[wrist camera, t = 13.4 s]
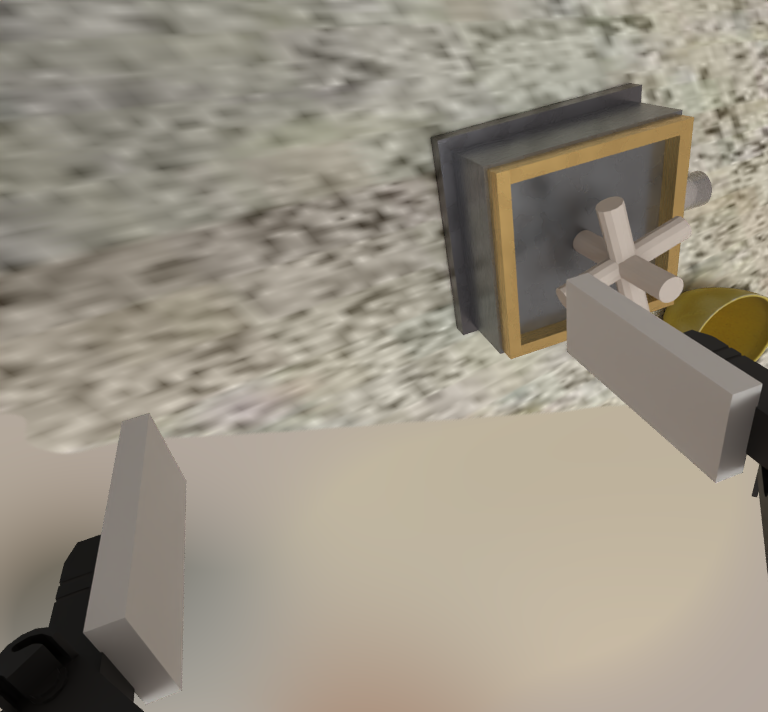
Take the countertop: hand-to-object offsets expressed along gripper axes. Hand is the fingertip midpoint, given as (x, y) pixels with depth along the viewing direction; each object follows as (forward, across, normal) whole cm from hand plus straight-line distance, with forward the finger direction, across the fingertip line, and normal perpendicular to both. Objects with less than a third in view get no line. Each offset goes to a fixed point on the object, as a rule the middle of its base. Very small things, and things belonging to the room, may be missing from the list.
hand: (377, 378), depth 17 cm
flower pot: (+31, +39, -26) cm, 56 cm away
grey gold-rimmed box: (+31, +24, -10) cm, 40 cm away
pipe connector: (+23, +22, -10) cm, 34 cm away
